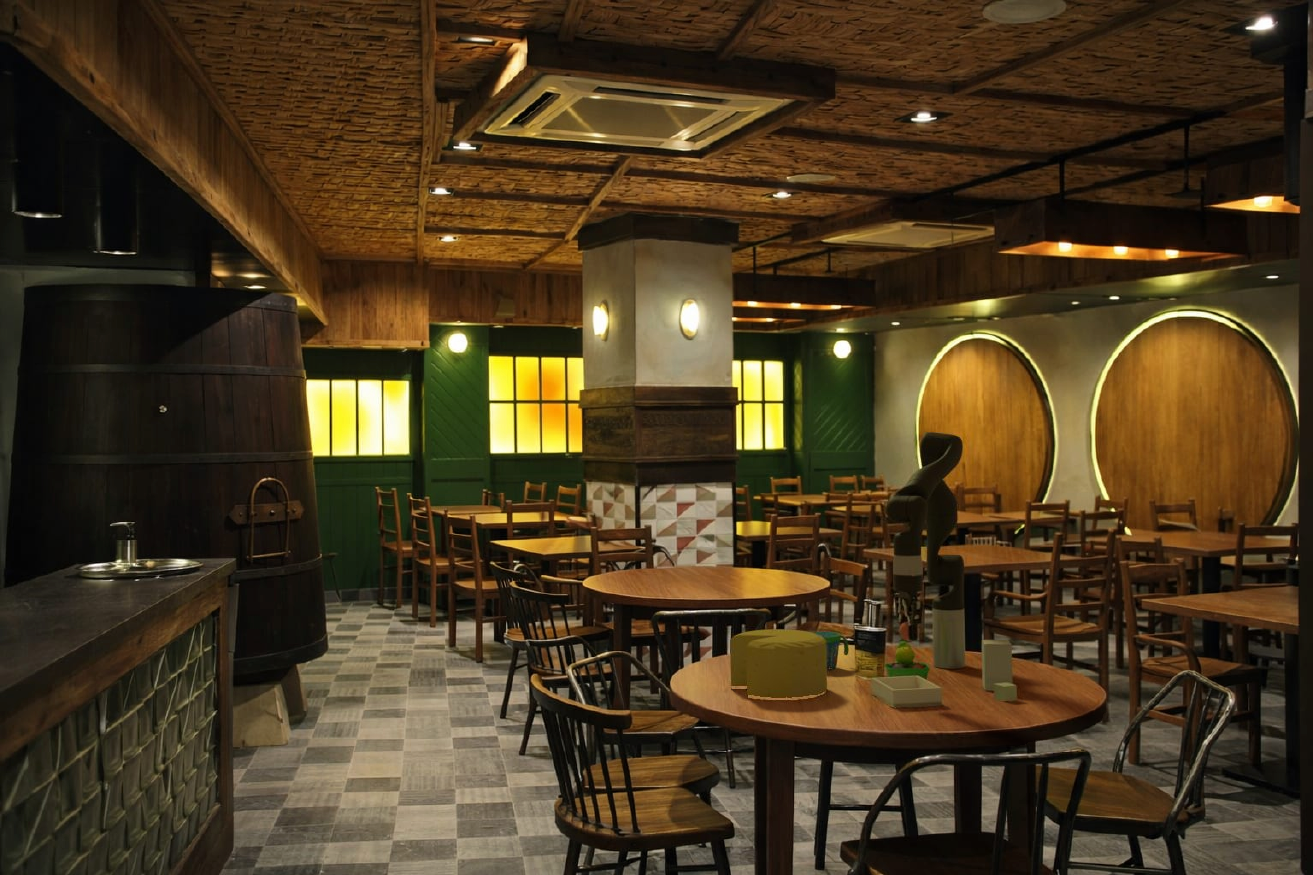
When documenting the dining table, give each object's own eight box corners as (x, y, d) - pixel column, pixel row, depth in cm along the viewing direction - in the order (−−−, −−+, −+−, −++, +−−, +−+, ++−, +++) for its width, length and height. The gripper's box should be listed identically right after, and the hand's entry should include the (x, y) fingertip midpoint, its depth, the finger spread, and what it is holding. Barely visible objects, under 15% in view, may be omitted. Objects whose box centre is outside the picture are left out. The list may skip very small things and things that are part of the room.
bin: (871, 694, 301) (871, 677, 301) (918, 692, 303) (917, 675, 303) (893, 708, 285) (892, 690, 285) (942, 705, 287) (941, 687, 287)
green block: (994, 699, 294) (993, 683, 294) (1006, 697, 296) (1006, 682, 296) (1004, 702, 290) (1004, 686, 290) (1016, 700, 292) (1016, 685, 292)
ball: (896, 639, 296) (896, 620, 296) (914, 638, 297) (914, 619, 297) (903, 642, 291) (903, 622, 291) (922, 641, 292) (921, 622, 292)
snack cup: (803, 672, 332) (802, 637, 332) (793, 666, 342) (792, 632, 342) (854, 670, 334) (853, 635, 334) (843, 663, 345) (842, 630, 345)
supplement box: (1013, 691, 302) (1012, 644, 302) (984, 690, 303) (983, 643, 304) (1010, 685, 309) (1009, 639, 309) (982, 685, 311) (981, 639, 311)
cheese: (715, 696, 303) (714, 639, 303) (753, 677, 326) (752, 625, 326) (807, 704, 291) (806, 646, 291) (840, 685, 314) (839, 631, 314)
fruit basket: (888, 686, 311) (888, 645, 311) (883, 680, 320) (883, 640, 320) (930, 686, 310) (930, 645, 310) (924, 679, 319) (923, 639, 319)
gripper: (884, 570, 301) (885, 634, 300) (904, 575, 287) (905, 642, 286) (910, 569, 302) (911, 633, 302) (932, 574, 288) (933, 641, 287)
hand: (908, 637), depth 294 cm, fingers closed on ball, 5 cm apart
